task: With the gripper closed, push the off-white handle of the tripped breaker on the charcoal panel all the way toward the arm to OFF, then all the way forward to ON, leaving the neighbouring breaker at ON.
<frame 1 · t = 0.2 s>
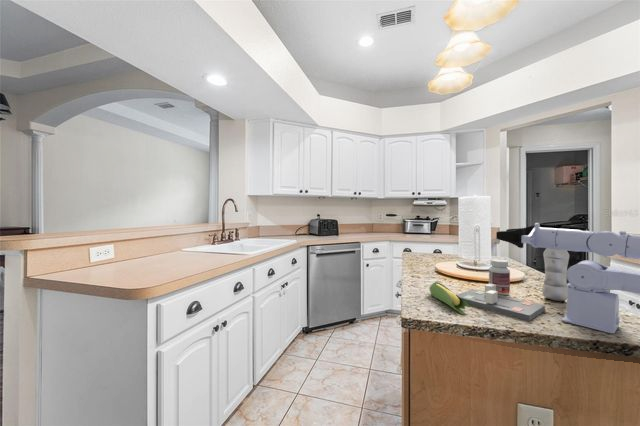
hand: (501, 233, 87), 21 cm above the countertop, tool horizontal, fingers open, 7 cm apart
plastic bottle: (554, 300, 90), on the countertop
edible corn: (447, 304, 86), on the countertop
pill bottle: (498, 293, 97), on the countertop
breaker panel: (497, 305, 84), on the countertop
breaker b: (491, 296, 82), point 3 cm above the countertop, slide at 0.0 cm
breaker a: (490, 289, 89), point 3 cm above the countertop, slide at 3.5 cm
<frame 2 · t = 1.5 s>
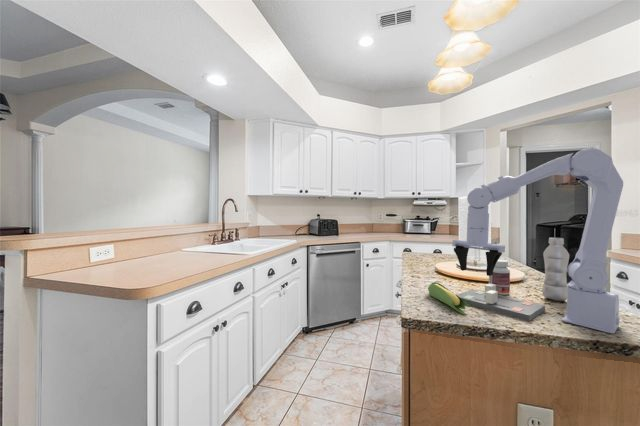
hand: (476, 272, 85), 10 cm above the countertop, tool pointing down, fingers open, 7 cm apart
nothing on the countertop moved.
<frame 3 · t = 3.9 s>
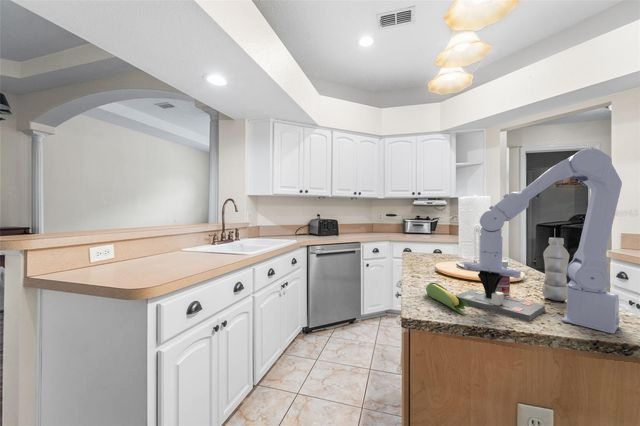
hand: (490, 297, 82), 3 cm above the countertop, tool pointing down, fingers closed
breaker b: (497, 298, 81), point 3 cm above the countertop, slide at -1.6 cm, touching gripper
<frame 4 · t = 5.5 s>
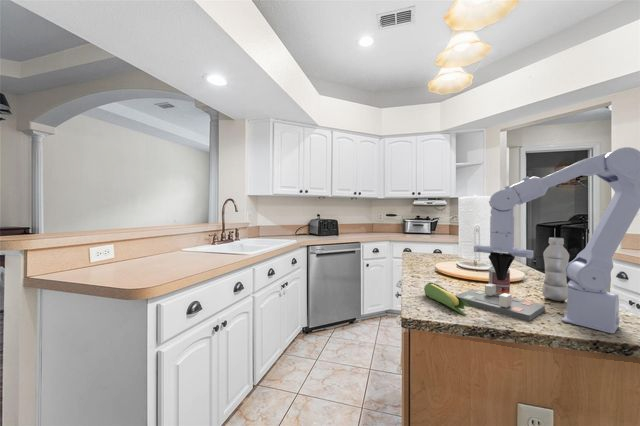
hand: (501, 279, 80), 9 cm above the countertop, tool pointing down, fingers closed
breaker b: (505, 300, 79), point 3 cm above the countertop, slide at -3.6 cm
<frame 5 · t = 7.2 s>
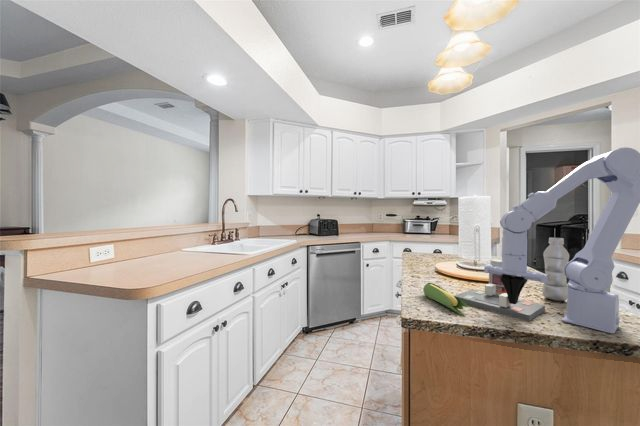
hand: (513, 303, 77), 3 cm above the countertop, tool pointing down, fingers closed
breaker b: (505, 300, 79), point 3 cm above the countertop, slide at -3.5 cm, touching gripper
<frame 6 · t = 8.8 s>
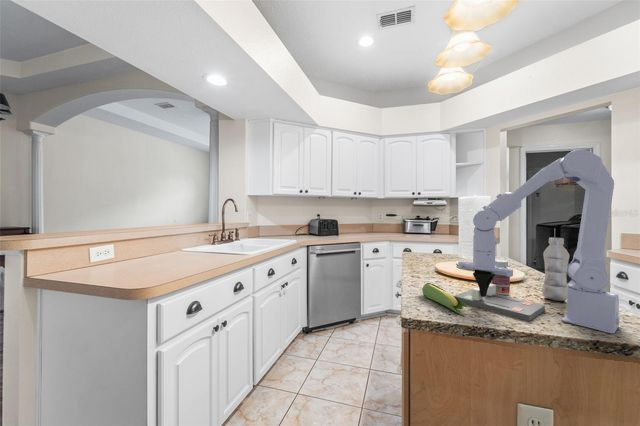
hand: (483, 296, 84), 3 cm above the countertop, tool pointing down, fingers closed
breaker b: (477, 293, 85), point 3 cm above the countertop, slide at 3.8 cm, touching gripper
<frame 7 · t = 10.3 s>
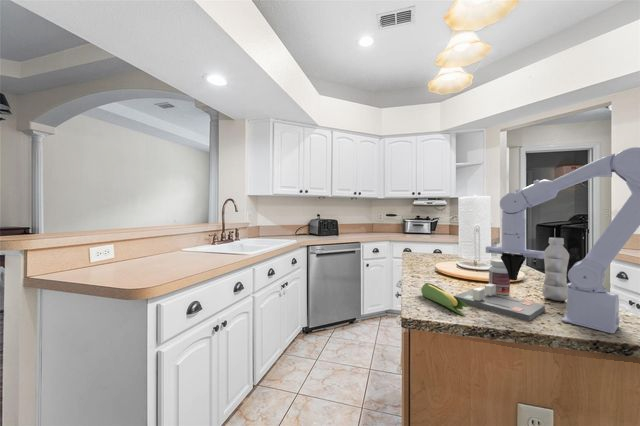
hand: (513, 279, 83), 8 cm above the countertop, tool pointing down, fingers closed
breaker b: (478, 293, 85), point 3 cm above the countertop, slide at 3.6 cm
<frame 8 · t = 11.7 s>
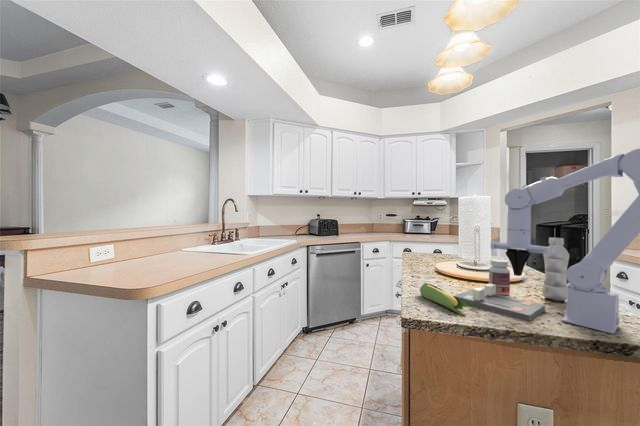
hand: (517, 275, 83), 9 cm above the countertop, tool pointing down, fingers closed
at the end: breaker b slide at 3.6 cm; breaker a slide at 3.5 cm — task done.
